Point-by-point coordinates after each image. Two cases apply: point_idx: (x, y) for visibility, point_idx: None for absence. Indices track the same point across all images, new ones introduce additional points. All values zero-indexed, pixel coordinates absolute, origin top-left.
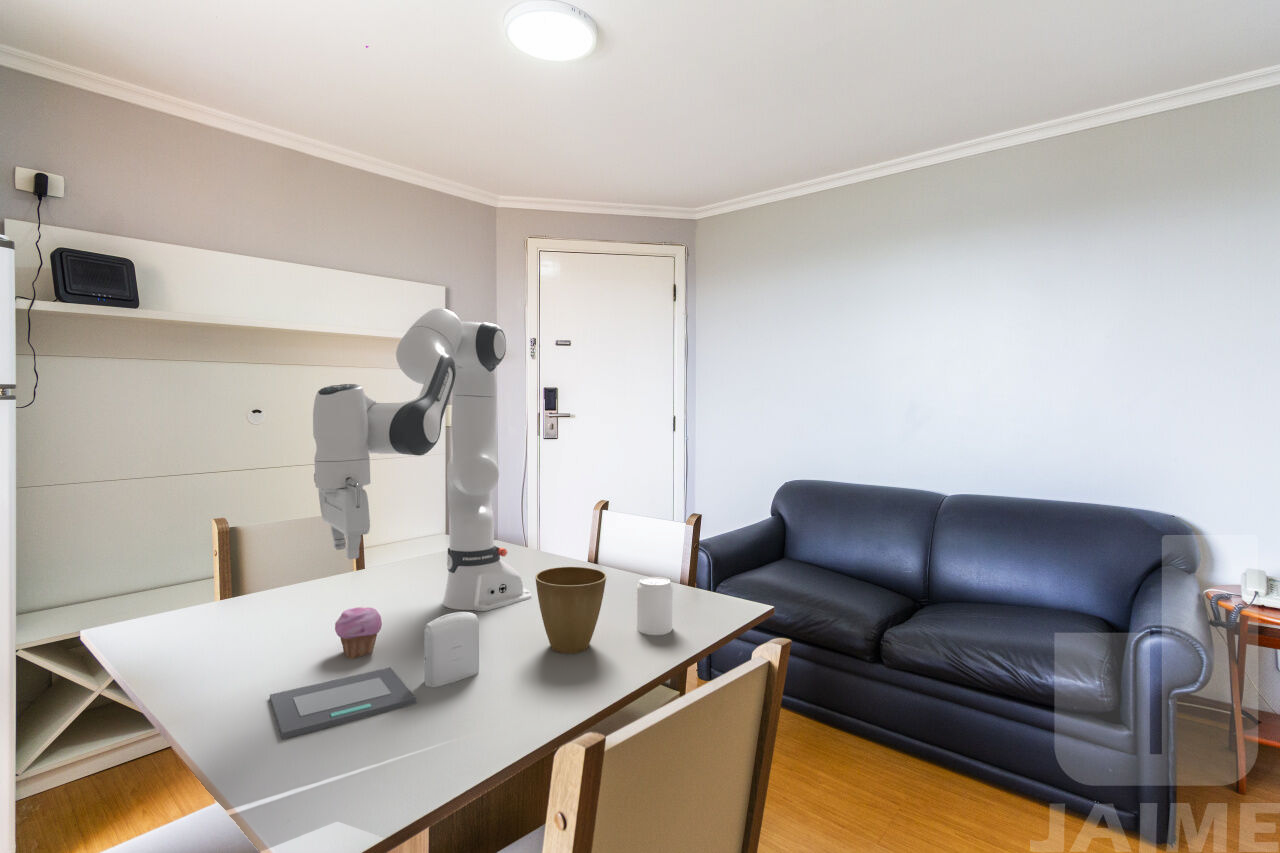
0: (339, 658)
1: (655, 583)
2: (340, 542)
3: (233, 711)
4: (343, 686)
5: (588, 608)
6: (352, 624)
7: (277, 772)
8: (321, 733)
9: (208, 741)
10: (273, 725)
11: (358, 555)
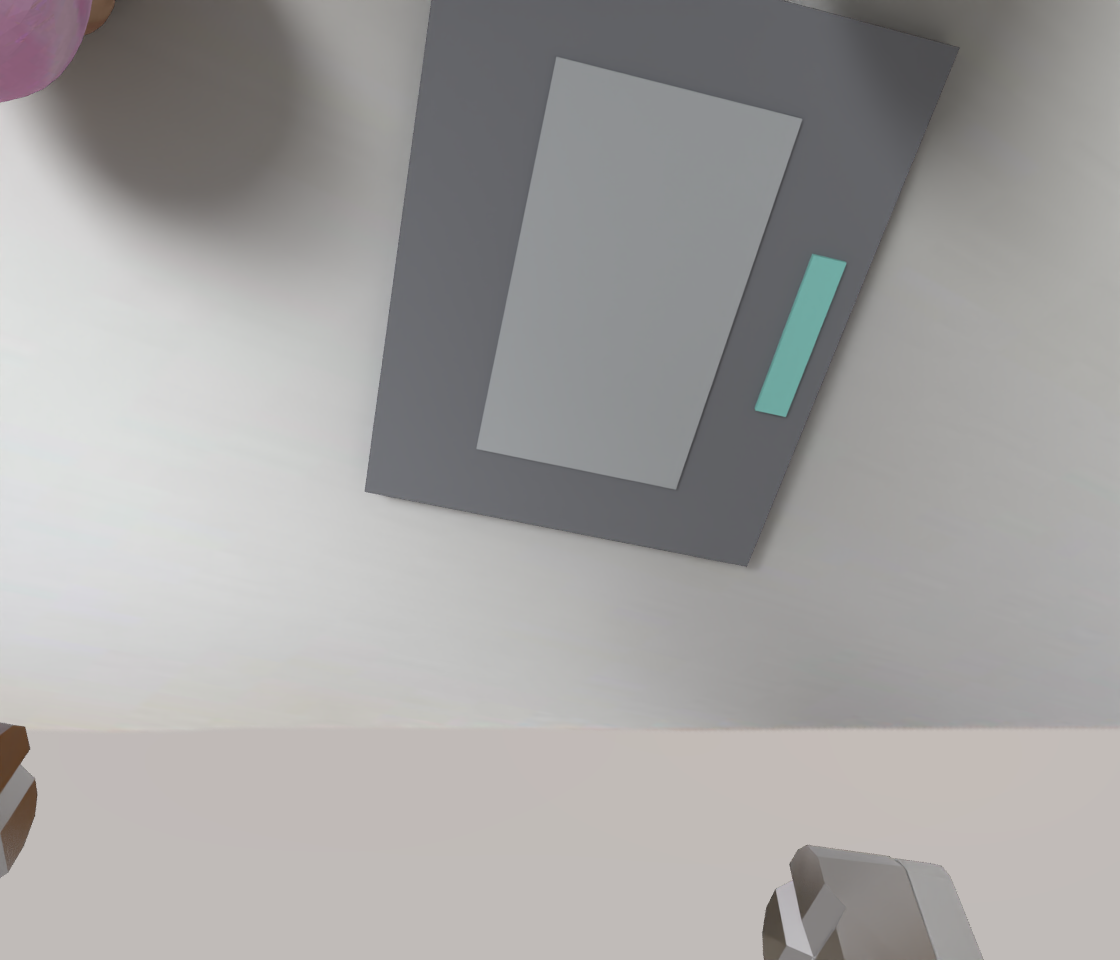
0: None
1: None
2: None
3: (380, 585)
4: (525, 252)
5: None
6: (18, 37)
7: (930, 623)
8: (816, 456)
9: (561, 683)
10: None
11: (955, 894)
